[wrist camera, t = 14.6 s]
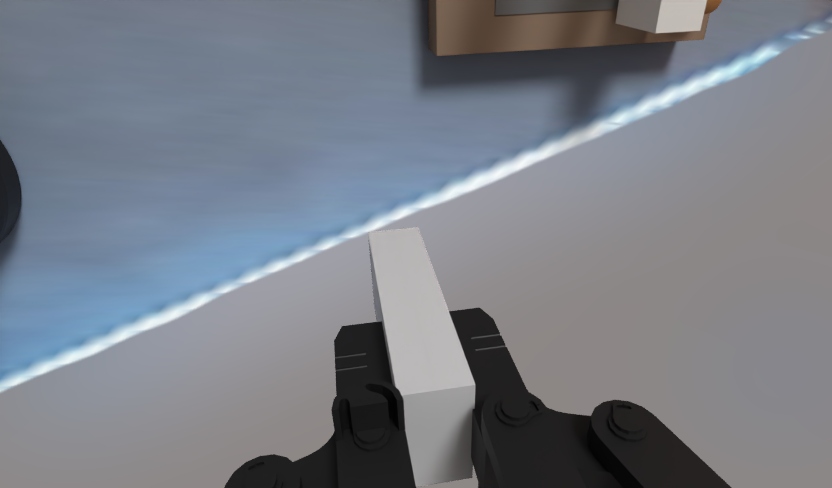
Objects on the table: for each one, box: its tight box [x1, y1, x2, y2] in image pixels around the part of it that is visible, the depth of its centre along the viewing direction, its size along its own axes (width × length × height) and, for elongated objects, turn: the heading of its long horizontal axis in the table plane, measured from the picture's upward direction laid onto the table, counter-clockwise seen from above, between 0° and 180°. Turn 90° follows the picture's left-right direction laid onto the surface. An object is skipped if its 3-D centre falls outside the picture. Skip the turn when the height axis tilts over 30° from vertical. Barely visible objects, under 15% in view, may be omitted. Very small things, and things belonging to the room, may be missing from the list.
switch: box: [615, 0, 707, 33], centre depth 34 cm, size 3×3×5 cm
